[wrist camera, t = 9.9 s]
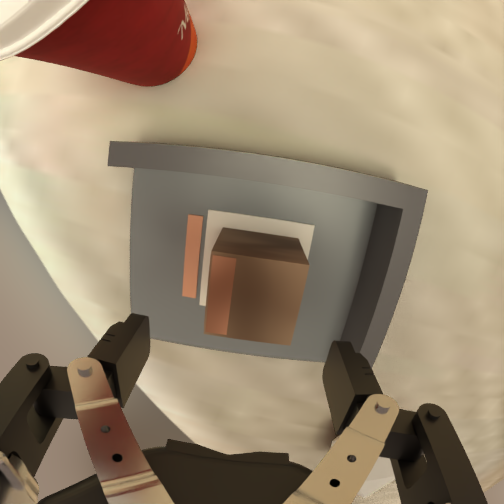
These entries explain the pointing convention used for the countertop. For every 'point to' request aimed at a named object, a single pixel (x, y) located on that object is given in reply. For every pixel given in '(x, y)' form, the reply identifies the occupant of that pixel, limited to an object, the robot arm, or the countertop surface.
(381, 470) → the die
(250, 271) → the walnut block
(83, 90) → the countertop surface
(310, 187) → the board
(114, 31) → the coffee cup
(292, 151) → the countertop surface
